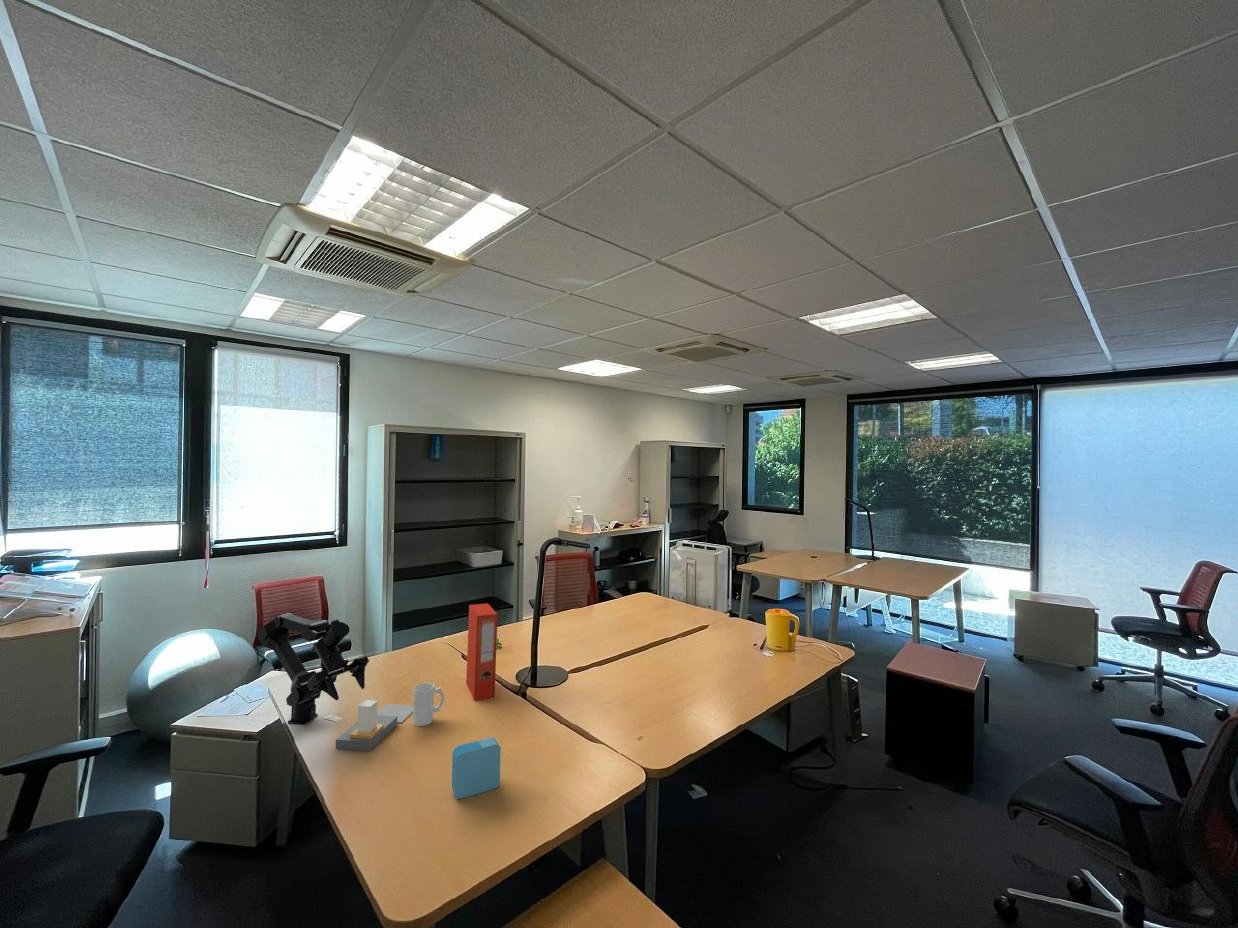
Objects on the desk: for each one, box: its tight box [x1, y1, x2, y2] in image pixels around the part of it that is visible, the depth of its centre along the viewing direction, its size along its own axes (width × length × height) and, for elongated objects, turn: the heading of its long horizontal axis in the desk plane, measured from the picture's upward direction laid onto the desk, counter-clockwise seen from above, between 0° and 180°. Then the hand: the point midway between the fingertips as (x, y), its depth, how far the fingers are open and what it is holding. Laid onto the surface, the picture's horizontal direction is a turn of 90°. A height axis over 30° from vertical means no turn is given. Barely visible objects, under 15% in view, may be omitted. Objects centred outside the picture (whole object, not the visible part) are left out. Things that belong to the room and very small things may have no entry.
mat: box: [377, 703, 413, 724], centre depth 173 cm, size 12×12×1 cm
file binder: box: [465, 603, 499, 701], centre depth 195 cm, size 8×17×32 cm, turn 27°
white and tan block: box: [350, 699, 384, 739], centre depth 155 cm, size 7×7×12 cm
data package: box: [451, 737, 502, 800], centre depth 133 cm, size 12×4×12 cm, turn 120°
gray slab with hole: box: [335, 715, 398, 752], centre depth 158 cm, size 11×16×3 cm
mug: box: [412, 682, 445, 727], centre depth 169 cm, size 10×7×12 cm, turn 116°
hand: (350, 693), depth 159 cm, fingers open, 9 cm apart
